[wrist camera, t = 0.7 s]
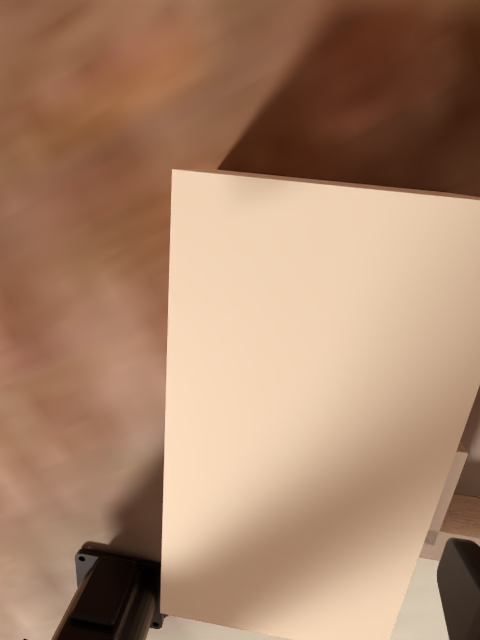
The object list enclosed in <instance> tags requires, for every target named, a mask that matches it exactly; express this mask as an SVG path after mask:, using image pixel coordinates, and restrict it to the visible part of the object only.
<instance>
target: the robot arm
mask: <svg viewBox="0 0 480 640" xmlns="http://www.w3.org/2000/svg"><path fill="white" fill-rule="evenodd" d="M75 562H76V574H77V586H78V589H77V591H76V593H75V595H74V597H73V599H72V601H71V603H70V604H69V606H68V608H67V610H66V612H65V614H64V616H63V618H62V620H61V622H60V624H59V626H58V628H57V629H56V631H55V633H54V635H53V637H52V639H51V640H146V637H147V634H148V631H149V628H154V629H160V628H161V627H162V624H163V621H164V614H162V613H160V594H161V564H160V563H156V562H151V561H146V560H140V559H135V558H130V557H124V556H119V555H114V554H109V553H103V552H98V551H93V550H88V549H80V550H79V551H78V552H77V554H76V556H75ZM437 582H438V588H439V592H440V597H441V602H442V607H443V611H444V616H445V621H446V626H447V631H448V635H449V640H480V546H479V545H478V544H477V543H475V542H474V541H472V540H467V539H460V538H454V537H452V538H449V539H448V540H447V542H446V544H445V547H444V550H443V553H442V556H441V559H440V562H439V565H438V569H437ZM24 640H27V639H24Z"/></svg>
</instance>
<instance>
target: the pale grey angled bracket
mask: <svg viewBox="0 0 480 640" xmlns="http://www.w3.org/2000/svg"><path fill="white" fill-rule="evenodd" d="M467 456H468V452H467V450H466V448H465V447H464V445H463V444H462V442H461V440H460V442H459V445H458V448H457V451H456V454H455V457H454V459H453V462H452V465H451V468H450V471H449V473H448V476H447V479H446V482H445V485H444V487H443V490H442V493H441V496H440V499H439V502H438V504H437V507H436V510H435V513H434V516H433V518H432V521H431V524H430V527H429V530H428V533H427V535H426V538H425V541H424V544H423V547H422V549H421V552H420V555H419V557H421V558H426V559H432V560H437V561H440V559H441V556H442V553H443V550H444V547H445V544H446V542H447V540H448V539H449V538H452V537H454V538H460V539H467V540H472V541H474V542H475V543H477V544H478V545H479V546H480V498H477V497H471V496H465V495H459V494H453V493H454V491H455V488H456V485H457V483H458V480H459V477H460V475H461V472H462V469H463V467H464V464H465V461H466V459H467Z"/></svg>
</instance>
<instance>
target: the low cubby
mask: <svg viewBox="0 0 480 640" xmlns="http://www.w3.org/2000/svg"><path fill="white" fill-rule="evenodd" d="M479 386H480V197H475V196H468V195H461V194H454V193H447V192H437V191H427V190H417V189H406V188H396V187H386V186H376V185H366V184H356V183H346V182H336V181H326V180H316V179H306V178H296V177H286V176H276V175H266V174H256V173H246V172H236V171H226V170H204V169H172V194H171V230H170V266H169V303H168V339H167V376H166V412H165V448H164V485H163V521H162V558H161V594H160V613H162V614H167V615H172V616H177V617H182V618H187V619H192V620H197V621H202V622H207V623H212V624H217V625H222V626H227V627H232V628H237V629H242V630H247V631H252V632H257V633H262V634H267V635H271V636H276V637H281V638H286V639H291V640H389V639H390V637H391V634H392V631H393V628H394V625H395V623H396V620H397V617H398V614H399V611H400V609H401V606H402V603H403V600H404V597H405V594H406V592H407V589H408V586H409V583H410V580H411V578H412V575H413V572H414V569H415V566H416V563H417V561H418V558H419V555H420V552H421V549H422V547H423V544H424V541H425V538H426V535H427V533H428V530H429V527H430V524H431V521H432V518H433V516H434V513H435V510H436V507H437V504H438V502H439V499H440V496H441V493H442V490H443V487H444V485H445V482H446V479H447V476H448V473H449V471H450V468H451V465H452V462H453V459H454V457H455V454H456V451H457V448H458V445H459V442H460V440H461V437H462V434H463V431H464V428H465V426H466V423H467V420H468V417H469V414H470V412H471V409H472V406H473V403H474V400H475V397H476V395H477V392H478V389H479Z"/></svg>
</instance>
